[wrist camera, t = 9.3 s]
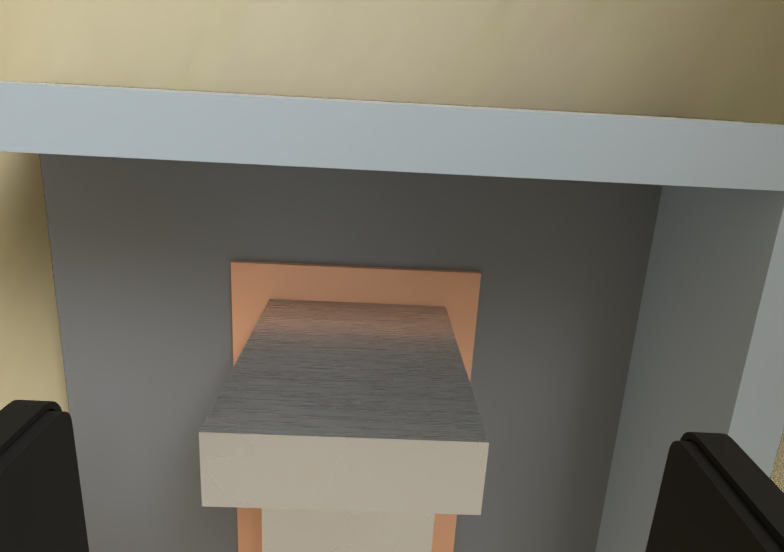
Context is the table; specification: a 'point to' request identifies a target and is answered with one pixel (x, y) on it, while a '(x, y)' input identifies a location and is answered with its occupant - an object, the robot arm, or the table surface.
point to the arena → (412, 288)
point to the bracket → (346, 428)
